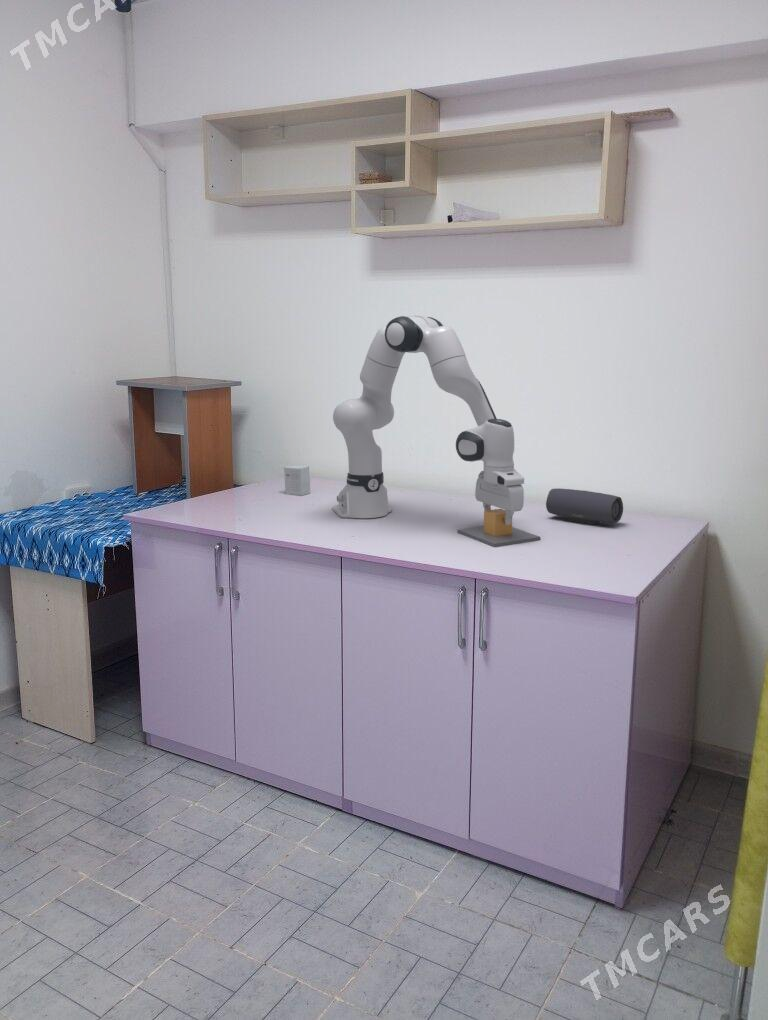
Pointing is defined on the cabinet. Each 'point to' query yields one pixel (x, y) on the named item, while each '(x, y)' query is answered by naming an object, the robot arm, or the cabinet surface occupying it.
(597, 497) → the bluetooth speaker
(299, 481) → the small box
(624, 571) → the cabinet surface
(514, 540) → the plate
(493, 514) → the wooden cube
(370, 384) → the robot arm
